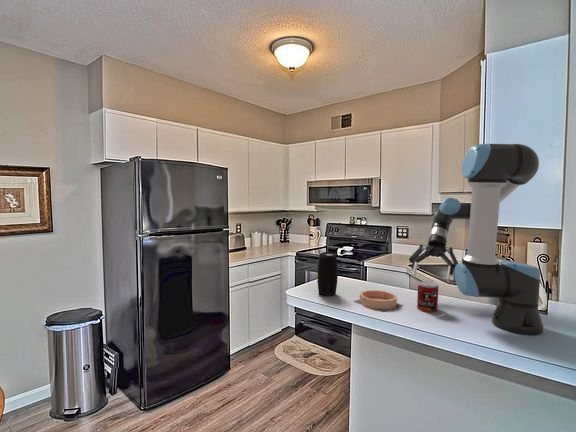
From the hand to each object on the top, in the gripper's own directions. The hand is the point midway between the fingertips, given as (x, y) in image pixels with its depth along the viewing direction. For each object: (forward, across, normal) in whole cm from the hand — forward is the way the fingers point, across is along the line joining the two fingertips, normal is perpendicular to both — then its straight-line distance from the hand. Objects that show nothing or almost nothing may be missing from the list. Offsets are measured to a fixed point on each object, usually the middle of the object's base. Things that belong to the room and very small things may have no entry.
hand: (430, 277), depth 140 cm
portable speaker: (+18, +42, +1) cm, 46 cm away
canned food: (+14, -1, -3) cm, 14 cm away
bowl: (+17, +18, +1) cm, 25 cm away
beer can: (-6, -26, -23) cm, 35 cm away
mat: (+17, +18, +1) cm, 25 cm away
